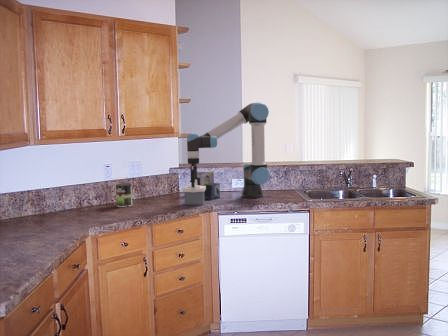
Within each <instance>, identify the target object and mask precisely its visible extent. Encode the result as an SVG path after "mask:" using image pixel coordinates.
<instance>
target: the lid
mask: <svg viewBox="0 0 448 336" xmlns="http://www.w3.org/2000/svg"><path fill="white" fill-rule="evenodd" d="M195 190H196V192H204V191H205V190H206V186H201V185H195ZM185 192H191V185H185V186H184V187H183V188H182V193H185Z"/></svg>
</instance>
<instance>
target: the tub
mask: <svg viewBox="0 0 448 336" xmlns="http://www.w3.org/2000/svg"><path fill="white" fill-rule="evenodd" d="M205 202H206V201H205V199H204V192H184V206H204V205H205Z"/></svg>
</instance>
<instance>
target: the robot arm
mask: <svg viewBox="0 0 448 336" xmlns="http://www.w3.org/2000/svg"><path fill="white" fill-rule="evenodd" d="M269 112H270V111H269V108H268V106H267V105H266V104H265V103H263V102H258V101H257V102H252V103H249V104H248V105H246V106H244V107H243V108H242V109H240V110H239V111H237V114H235V115H234V116H231V117H230V118H229V119H227V120H225V121H223V122H222V123H220V124H219V125H217V126H216V127H214V128H213V129H211V130H209V131H207V132H206V133H204V134H202V135H199V134H198V133H188V134H187V135H186V150H187V152H186V155H187V165H191V166H190V168H189V169H190V180H189V183H190V186H191V192H196V190H195V185H197V179H198V178H197V170H198V164H200V158H199V157H200V149H209V148H210V149H213V148H216V147H217V146H218V139H220V138H222V137H223V136H225V135H227V134H228V133H230V132H232V131H234V130H235V129H236V128H238V127H239V126H241V125H243V124H247V123H248V124H249V125H250V126H251V127H250V128H251V162H250V163H245V164H243V188H242V192H241V197H242V198H247V199H249V198H250V199H252V198H253V199H257V198H258V199H259V198H262V197H264V192H263V189H262V186H261V185H264V184H266V183H267V182H268V181H269V180H270V171H269V170H268V163H267V162H266V161H265V160H266V157H265V156H266V155H265V147H266V146H265V126H266V124H267V122H268V121H267V119H268V117H269Z"/></svg>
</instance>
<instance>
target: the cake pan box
mask: <svg viewBox="0 0 448 336" xmlns="http://www.w3.org/2000/svg"><path fill="white" fill-rule="evenodd" d="M197 178H198V179H197V185H201V186H204V184H209V183H215V175H214V171H213V170H198V169H197Z"/></svg>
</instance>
